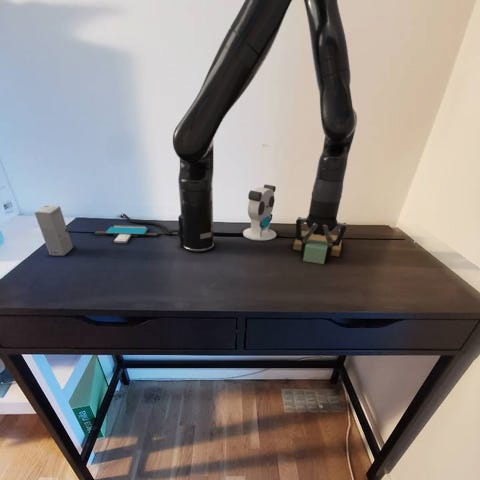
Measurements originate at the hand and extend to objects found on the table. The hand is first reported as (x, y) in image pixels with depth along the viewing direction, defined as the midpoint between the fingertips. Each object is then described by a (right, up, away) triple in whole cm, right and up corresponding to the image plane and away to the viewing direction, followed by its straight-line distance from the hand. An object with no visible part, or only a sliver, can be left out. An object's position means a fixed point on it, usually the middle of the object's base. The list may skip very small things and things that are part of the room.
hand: (314, 255), depth 92 cm
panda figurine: (-16, +10, +14) cm, 23 cm away
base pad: (+3, +5, +8) cm, 10 cm away
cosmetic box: (-74, +1, -2) cm, 74 cm away
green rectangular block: (+1, 0, +2) cm, 2 cm away
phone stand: (-59, +8, +9) cm, 60 cm away
